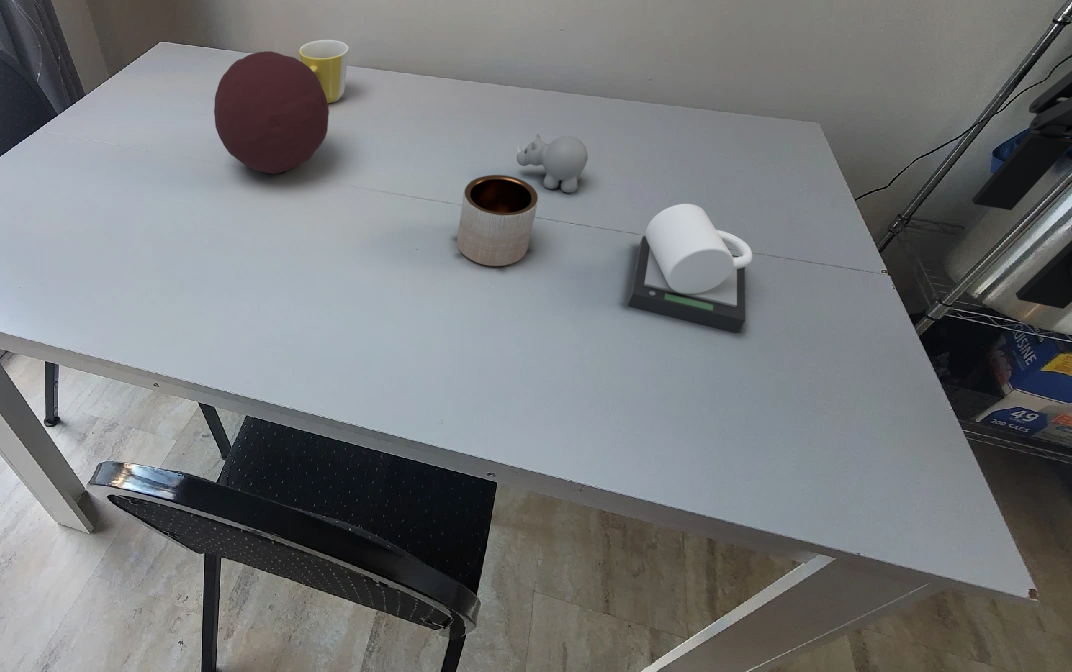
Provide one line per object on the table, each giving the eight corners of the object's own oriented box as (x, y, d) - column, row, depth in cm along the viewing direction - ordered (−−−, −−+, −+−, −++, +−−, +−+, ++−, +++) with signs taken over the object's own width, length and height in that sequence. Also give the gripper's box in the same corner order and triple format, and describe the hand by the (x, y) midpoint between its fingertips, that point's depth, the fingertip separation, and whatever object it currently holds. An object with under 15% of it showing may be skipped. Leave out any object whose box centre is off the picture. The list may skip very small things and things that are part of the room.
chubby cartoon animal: (518, 163, 110) (527, 119, 104) (584, 178, 106) (597, 133, 100) (506, 182, 106) (514, 137, 100) (574, 199, 102) (586, 153, 96)
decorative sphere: (235, 139, 119) (215, 34, 105) (334, 138, 118) (328, 32, 104) (216, 195, 106) (191, 83, 91) (328, 195, 105) (320, 81, 90)
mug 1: (322, 83, 136) (319, 35, 128) (359, 94, 132) (358, 45, 124) (283, 107, 128) (278, 57, 121) (321, 119, 124) (318, 68, 116)
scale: (737, 333, 80) (747, 318, 78) (627, 305, 84) (633, 291, 82) (737, 270, 88) (746, 255, 86) (637, 248, 92) (643, 233, 90)
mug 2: (658, 294, 81) (680, 248, 75) (637, 248, 88) (656, 202, 82) (749, 295, 80) (778, 248, 75) (721, 249, 87) (746, 202, 82)
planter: (444, 253, 93) (450, 200, 86) (475, 218, 99) (483, 166, 92) (509, 278, 88) (521, 225, 81) (537, 239, 95) (550, 187, 88)
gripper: (1128, -100, 43) (928, 165, 58) (1351, 19, 27) (998, 338, 43) (1271, -93, 41) (1024, 181, 56) (1603, 40, 25) (1135, 368, 40)
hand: (1012, 249), depth 49 cm, fingers open, 13 cm apart
